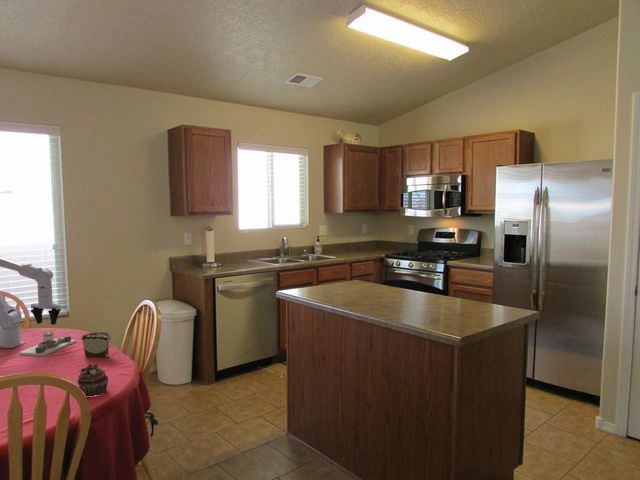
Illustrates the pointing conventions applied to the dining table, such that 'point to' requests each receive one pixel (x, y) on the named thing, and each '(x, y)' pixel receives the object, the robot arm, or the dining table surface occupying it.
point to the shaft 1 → (41, 348)
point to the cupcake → (92, 380)
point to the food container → (96, 345)
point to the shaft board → (50, 348)
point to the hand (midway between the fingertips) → (46, 323)
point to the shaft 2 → (64, 339)
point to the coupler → (48, 338)
